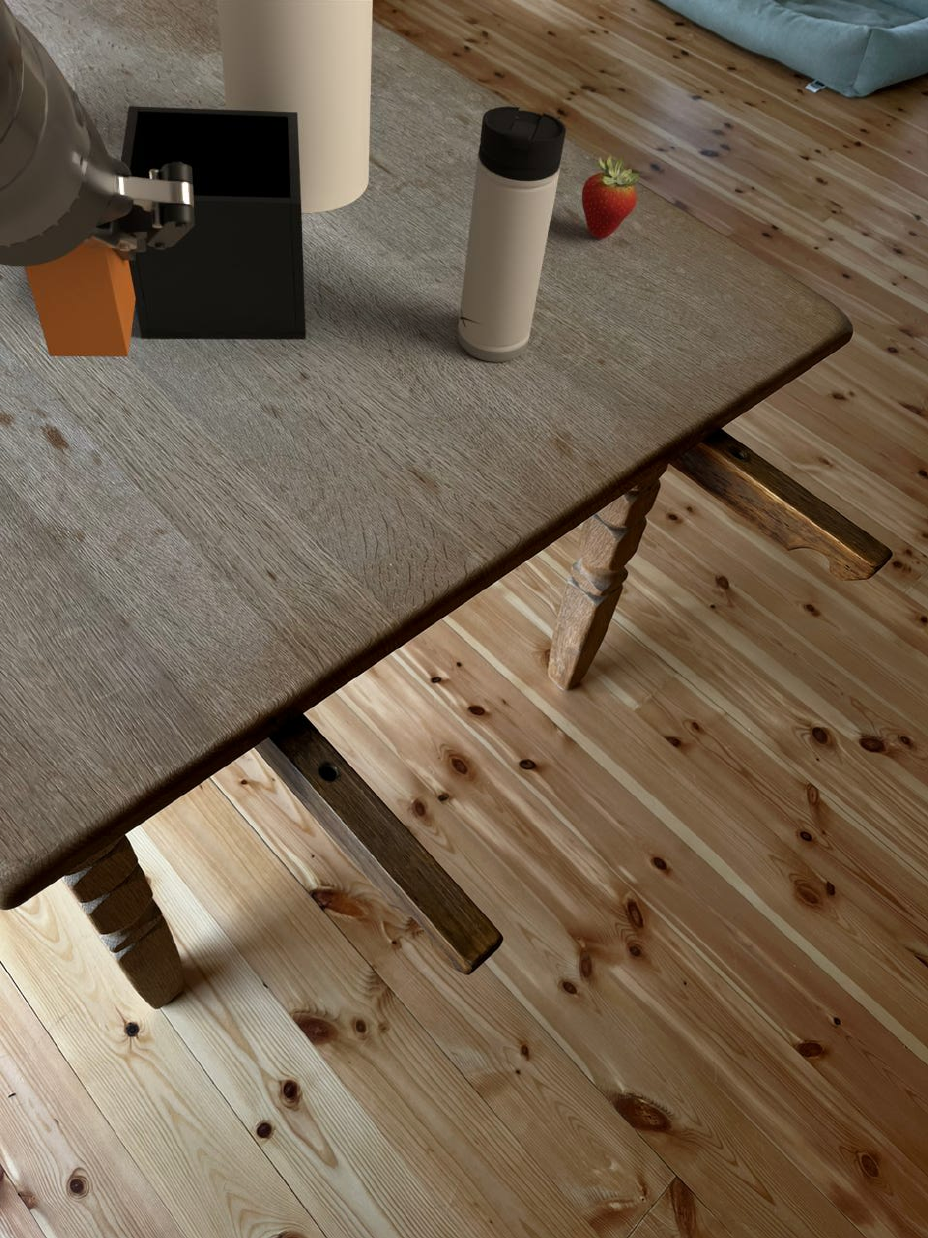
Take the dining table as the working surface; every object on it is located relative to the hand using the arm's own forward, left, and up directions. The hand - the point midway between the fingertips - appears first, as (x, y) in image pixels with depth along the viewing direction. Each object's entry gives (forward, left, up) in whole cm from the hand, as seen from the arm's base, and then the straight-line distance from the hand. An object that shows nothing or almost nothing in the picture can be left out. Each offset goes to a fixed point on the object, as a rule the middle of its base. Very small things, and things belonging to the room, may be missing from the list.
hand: (83, 238), depth 53 cm
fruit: (+41, +38, -24) cm, 61 cm away
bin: (+5, +29, -24) cm, 38 cm away
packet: (0, -2, -4) cm, 5 cm away
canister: (+12, +48, -24) cm, 55 cm away
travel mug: (+28, +22, -24) cm, 43 cm away
